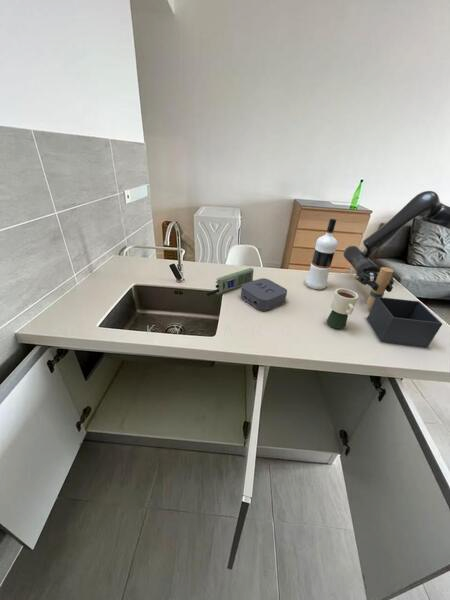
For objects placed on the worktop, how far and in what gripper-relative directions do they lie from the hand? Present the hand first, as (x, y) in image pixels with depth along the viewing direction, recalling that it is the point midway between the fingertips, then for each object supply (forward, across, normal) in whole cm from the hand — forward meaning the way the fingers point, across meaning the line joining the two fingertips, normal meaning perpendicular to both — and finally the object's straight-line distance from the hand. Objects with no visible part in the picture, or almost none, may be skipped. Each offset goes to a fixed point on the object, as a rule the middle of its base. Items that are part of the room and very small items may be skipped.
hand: (383, 288), depth 87 cm
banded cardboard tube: (-3, 0, +8) cm, 9 cm away
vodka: (-20, -18, +11) cm, 29 cm away
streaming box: (-2, -42, +11) cm, 44 cm away
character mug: (+10, -16, +11) cm, 22 cm away
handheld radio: (-8, -56, +11) cm, 58 cm away
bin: (+10, +4, +11) cm, 16 cm away
